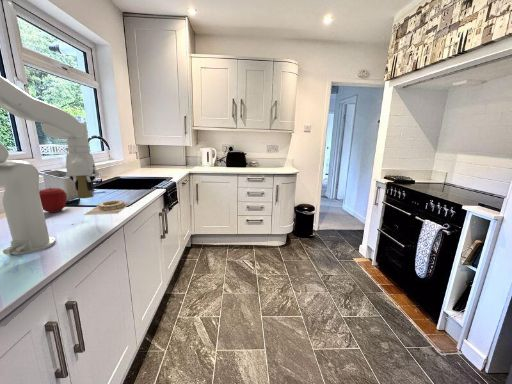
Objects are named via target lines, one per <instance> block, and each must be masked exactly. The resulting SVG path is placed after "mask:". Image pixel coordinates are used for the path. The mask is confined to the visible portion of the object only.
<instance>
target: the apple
mask: <svg viewBox="0 0 512 384" xmlns="http://www.w3.org/2000/svg"><path fill="white" fill-rule="evenodd" d="M39 194H40V199H41V203H42V207H43V212H46V213H47V212H48V213H52V214H53V213H56V212H57V213H58V212H61V211H62V210H63V209H64V208H65V207H66V203H67V199H68V198H67V197H68V196H67V195H68V194H67V193H66V191H65V190H64V189H62V188H58V187H57V188H56V187H54V188H53V187H52V188H51V187H49V188H45V189H41V190H39Z"/></svg>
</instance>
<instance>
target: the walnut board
mask: <svg viewBox="0 0 512 384" xmlns="http://www.w3.org/2000/svg"><path fill="white" fill-rule="evenodd" d="M130 204H132V201H131V202H129V201H128V202H124V206H123V207H120V208H117V209H112V210H100V209H99V208H98V205H96V206H95V207H94V208H92V209H91V210H89V211H87V212H86V213H84V214H83V216H89V215H90V216H95V215H113V214H114V215H115V214H117V215H118V214H119V213H120V212H121V211H123V210H124V209H126V208H127V206H129V205H130ZM112 205H114V204H112Z"/></svg>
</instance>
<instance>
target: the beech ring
mask: <svg viewBox="0 0 512 384" xmlns="http://www.w3.org/2000/svg"><path fill="white" fill-rule="evenodd" d="M124 203H125V202H124V200H121V199H112V200H105V201H102V202H99V203H98V204H97V206H98V208H99V209H100V210H112V209H117V208H120V207H123V206H124ZM112 204H114V205H112Z"/></svg>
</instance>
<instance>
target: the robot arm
mask: <svg viewBox="0 0 512 384" xmlns="http://www.w3.org/2000/svg"><path fill="white" fill-rule="evenodd" d="M0 108H1V109H3V110H5V112H8V113H9V114H12V115H13V116H15V117H17V118H20V119H24V120H26V121H30V122H37V123H41V124H42V125H41V131H42V132H43V133H44V135H45V136H47V137H49V138H53V139H66V142H67V147H65V149H64V150H65V151H67V152H68V153H66V158H65V160H66V161H65V166H66V168H65V169H66V173H65V175H64V176H65V177H67V178H69V179H70V180H71V181H72V182H73V183H74V186H75V189H76V191H77V192H78V181H77V179H76V176H86V177H87V180H88V182H87V188H88V191H90V190H92V191H93V190H94V180H96V178H98V177H99V176H101V175H100V174H101V173H100V172H99V171H98V170H97V169H96V164H95V160H94V157H93V154H92V153H91V151H90V145H89V139H88V138H89V137H88V131H87V124H86V123H85V122H83V121H80V120H78V119H77V118H76V117H75V116H73V115H71V114H70V113H69V112H67V111H65V110H64V109H61V108H59V107H56V106H55V105H52V104H50V103H47V102H45V101H43V100H40V99H37V98H34V97H33V96H31V95H30V94H28V93H27V92H25V91H23V89H21V88H19V87H18V86H16V85H15V84H14V83H12V82H10V81H9V80H8V79H7V78H5V77H4V76H1V75H0ZM9 157H10V156H9V150H8V149H7V147H6V146H5V145H4V144H3V142H1V141H0V189H4V193H3V195H2V207H3V209H4V213H5V214H4V215H5V217H6V220H7V224H8V228H9V232H10V236H11V241H10V245H9V247H6V248H5V249H3V250H2V253H3V254H4V255H6V256H7V255H10V254H11V255H21V256H22V255H28V254H32V253H36V252H41V251H42V250H46V249H48V248H50V247H52V246H53V245H54V244H55V243H56V238H55V237H52V236H50V235H49V230H48V226H47V221H46V217H45V213H44V212H45V211H44V210H43V207H42V203H41V199H40V194H39V192H40V173H39V170H38V169H37V168H36V166H34V165H33V164H32V163H30V162H27V161H23V160H16V159H14V160H13V159H12V160H10V159H9ZM8 159H9V160H8Z"/></svg>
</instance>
